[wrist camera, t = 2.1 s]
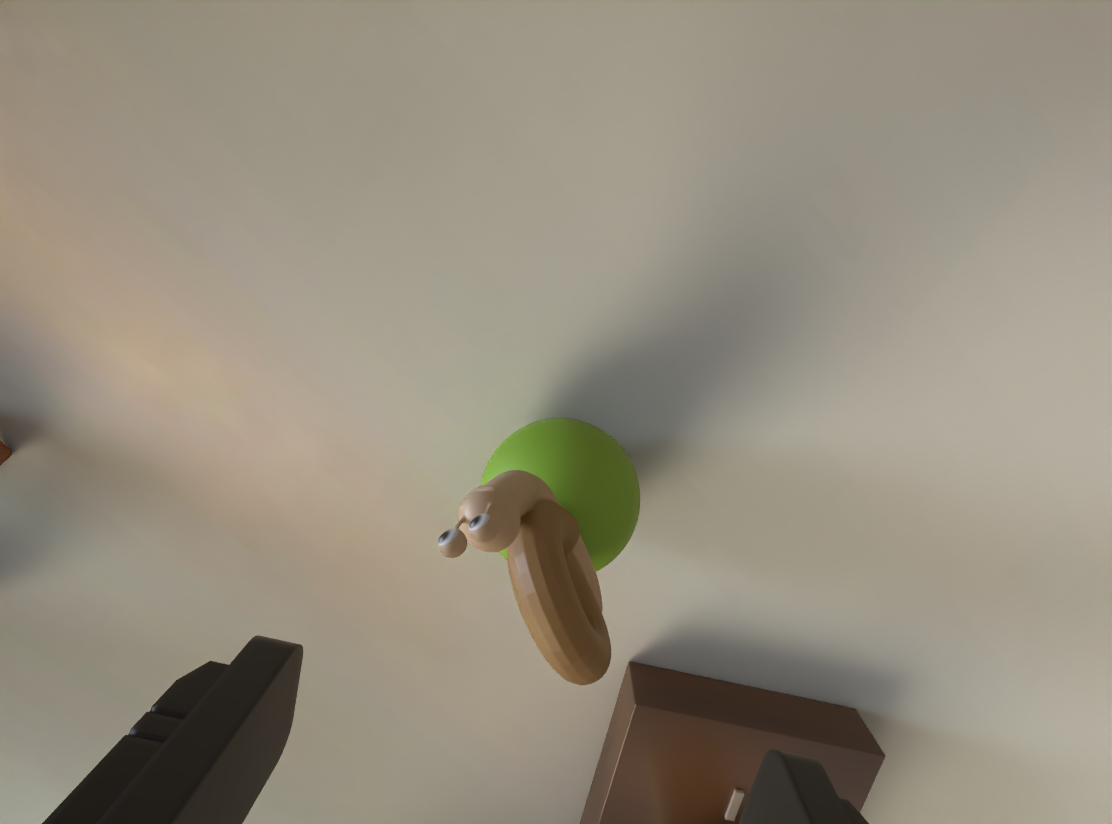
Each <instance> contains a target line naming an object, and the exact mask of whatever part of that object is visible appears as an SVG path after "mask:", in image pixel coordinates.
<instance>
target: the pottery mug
mask: <svg viewBox="0 0 1112 824" xmlns="http://www.w3.org/2000/svg"><path fill="white" fill-rule="evenodd" d="M11 455H12V451H11V449H10V448H9V447H8V446H6V445H4V444H3V443H2V442H1V441H0V465H1V464H2V463H3V462H4V461H5V460H7V459H8V458H9V457H10V456H11Z"/></svg>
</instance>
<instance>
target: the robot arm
mask: <svg viewBox="0 0 1112 824" xmlns="http://www.w3.org/2000/svg"><path fill="white" fill-rule="evenodd" d="M302 658H303V647H302V645H300V644H295V643H291V642H286V641H281V640H277V639H272V638H268V637H263V636H255V637H253V638H252V639H251V640H250V641H249V642H248V643H247V645H246V646H245V647H244V648H243V649H242V651H241V652H240V653H239V654H238V655H237V657H236V658H235V659H234V660H233V661H232V662H231V664H230V665H227V664H222V663H218V662H213V661H209V662H208V663H206V664H204V665H202V666H201V667H199V668H197V669H195V670H194V671H192V672H190V673H188V674H187V675H185V676H183V677H181V678H180V679H178V680H176V681H175V682H174V683H173V685H172V686H171V687H170V688H169V689H168V690H167V691H166V692H165V693H164V694H163V695H162V696H161V697H160V698H159V699H158V701H157V702H156V703H155V704H154V705H153V706H152V708H151V710H150V712H146V713H145V714H144V715H143V717H142V718H141V719H140V720H139V721H138V722H137V723H136V724H135V725H134V726H133V727H132V728H131V730H130V733H129V734H128V735H125V736H124V737H123V738H122V739H121V740H120V741H119V742H118V743H117V744H116V745H115V746H114V747H113V749H112V750H111V751H110V752H109V753H108V754H107V755H106V756H105V757H104V758H103V759H102V760H101V761H100V762H99V763H98V765H97V766H96V767H95V768H94V769H93V770H92V771H91V772H90V773H89V774H88V775H87V776H86V777H85V778H84V779H83V781H82V782H81V783H80V784H79V785H78V786H77V787H76V788H75V789H74V790H73V791H72V792H71V793H70V794H69V795H68V797H67V798H66V799H65V800H64V801H63V802H62V803H61V804H60V805H59V806H58V807H57V808H56V809H55V810H54V811H53V813H52V814H51V815H50V816H49V817H48V818H47V819H46V820H45V821H44V822H43V823H42V824H242V823H243V821H244V820H245V818H246V816H247V814H248V813H249V811H250V809H251V807H252V806H253V804H254V802H255V801H256V799H257V797H258V795H259V794H260V792H261V790H262V789H263V787H264V785H265V783H266V782H267V780H268V778H269V776H270V775H271V773H272V771H273V770H274V768H275V766H276V764H277V763H278V761H279V759H280V757H281V754H282V752H283V750H284V747H285V745H286V742H287V739H288V736H289V733H290V730H291V726H292V722H293V716H294V710H295V703H296V697H297V690H298V684H299V678H300V671H301V665H302ZM739 824H869V823H868V822H867V821H866V820H865V819H864V818H863V816H862V815H861V814H860V813H859V812H858V811H857V810H856V808H855V807H854V806H853V805H852V804H851V803H850V802H849V800H846V799H841V798H839V797H838V795H837V793H836V791H835V789H834V787H833V785H832V783H831V781H830V779H829V777H828V775H827V773H826V771H825V769H824V767H823V766H822V764H821V763H820V762H819V761H818V760H817V759H815V758H812V757H807V756H803V755H798V754H793V753H789V752H784V751H780V750H775V749H771V750H769V751H768V752H767V753H766V754H765V756H764V758H763V760H762V763H761V766H760V768H759V771H758V773H757V776H756V778H755V781H754V783H753V786H752V789H751V791H750V794H749V796H748V799H747V801H746V804H745V806H744V809H743V812H742V814H741V817H740V820H739Z"/></svg>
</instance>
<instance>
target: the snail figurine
mask: <svg viewBox="0 0 1112 824" xmlns="http://www.w3.org/2000/svg"><path fill="white" fill-rule="evenodd" d="M639 509H640V490H639V484H638V479H637V476H636V472H635V470H634V467H633V465H632V463H631V461H630V459H629V457H628V456H627V454H626V453H625V451H624V450H623V449H622V448H621V446H620V445H619V444H618V443H617V442H616V441H615V440H614V439H613V438H612V437H610V436H609V435H608V434H607V433H605V432H604V431H602V430H601V429H599V428H597V427H595V426H593V425H591V424H588V423H585V422H582V421H579V420H574V419H566V418H553V419H546V420H541V421H537V422H534V423H531V424H529V425H527V426H525V427H523V428H521V429H519V430H517V431H516V432H514V433H513V434H512V435H510V436H509V437H508V438H507V439H506V440H505V441H504V442H503V443H502V444H501V445H500V446H499V447H498V448H497V449H496V451H495V452H494V454H493V455H492V457H491V458H490V460H489V462H488V464H487V466H486V469H485V471H484V474H483V478H482V482H481V486H479V487H477V488H475V489H473V490H472V491H471V492H470V493H469V494H468V495H467V496H466V497H465V499H464V500H463V502H462V504H461V505H460V508H459V511H458V523H457V524H456V526H455V528H453V529H449V530H447V531H445V532H444V533H443V534H442V535H441V536H440V538H439V540H438V549H439V551H440V552H441V554H442V555H444V556H446V557H448V558H455V557H458V556H460V555H461V554H462V553H463V552H464V551H465V549H466V546H467V541H468V542H469V543H470V544H471V545H473V546H474V547H476V548H477V549H480V550H482V551H486V552H499V553H500V554H501V555H502V556H503V557H504V558H505V559H506V560H507V561H508V568H509V573H510V578H511V582H512V586H513V590H514V594H515V597H516V600H517V603H518V606H519V609H520V611H521V614H522V616H523V618H524V621H525V623H526V625H527V627H528V629H529V631H530V634H531V636H532V638H533V639H534V641H535V643H536V645H537V647H538V649H539V650H540V652H541V653H542V655H543V656H544V658H545V659H546V661H547V662H548V663H549V664H550V666H551V667H552V668H553V669H554V670H555V671H556V672H557V673H558V674H559V675H560V676H562V677H563V678H564V679H565V680H567V681H569V682H572V683H575V684H578V685H586V684H591V683H594V682H596V681H597V680H599V679H600V678H601V677H603V675H604V674H605V673H606V671H607V669H608V667H609V664H610V660H611V644H610V638H609V634H608V630H607V627H606V624H605V621H604V618H603V615H602V598H601V592H600V587H599V583H598V579H597V575H596V571H598V570H600V569H602V568H603V567H605V566H606V565H608V564H609V563H610V562H611V561H612V560H614V559H615V558H616V557H617V556H618V555H619V554H620V552H621V551H622V550H623V549H624V547H625V546H626V544H627V543H628V541H629V540H630V538H631V536H632V534H633V531H634V529H635V526H636V523H637V520H638V515H639ZM459 526H460V529H461V530H459V529H458V528H459Z"/></svg>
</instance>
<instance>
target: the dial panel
mask: <svg viewBox="0 0 1112 824" xmlns="http://www.w3.org/2000/svg"><path fill="white" fill-rule="evenodd" d="M771 749H775V750H780V751H784V752H789V753H793V754H798V755H803V756H807V757H812V758H815V759H817V760H818V761H819V762H820V763H821V764H822V766H823V767H824V769H825V771H826V773H827V775H828V777H829V779H830V781H831V783H832V785H833V787H834V789H835V791H836V793H837V795H838V797H839V798H841V799H846V800H849V802H850V803H851V804H852V805H853V806H854V807H855V808H856V810H857V811H858V812H859V813H860V811H861V809H862V807H863V804H864V802H865V800H866V798H867V796H868V793H869V791H870V789H871V787H872V784H873V782H874V780H875V778H876V775H877V773H878V771H879V769H880V767H881V764H882V762H883V760H884V758H885V754H884V753H883V751H882V750H881V748H880V746H879V745H878V743H877V742H876V740H875V739H874V737H873V735H872V734H871V732H870V731H869V729H868V728H867V726H866V724H865V723H864V721H863V720H862V718H861V717H860V715H859V713H858V712H857V710H856V709H853V708H848V707H844V706H839V705H834V704H829V703H824V702H820V701H815V700H810V699H805V698H800V697H796V696H791V695H786V694H781V693H777V692H772V691H767V690H762V689H757V688H753V687H748V686H743V685H738V684H734V683H729V682H724V681H719V680H714V679H710V678H705V677H700V676H695V675H690V674H686V673H681V672H676V671H671V670H667V669H662V668H657V667H652V666H647V665H643V664H638V663H633V662H629V663H628V666H627V669H626V672H625V676H624V679H623V682H622V686H621V689H620V692H619V695H618V699H617V702H616V705H615V709H614V712H613V715H612V719H611V722H610V725H609V729H608V732H607V735H606V739H605V742H604V745H603V749H602V752H601V755H600V759H599V762H598V765H597V769H596V772H595V775H594V779H593V782H592V785H591V789H590V792H589V795H588V799H587V802H586V805H585V809H584V812H583V815H582V818H581V822H580V824H739V820H740V817H741V814H742V812H743V809H744V806H745V804H746V801H747V799H748V796H749V794H750V791H751V789H752V786H753V783H754V781H755V778H756V776H757V773H758V771H759V768H760V766H761V763H762V760H763V758H764V756H765V754H766V753H767V752H768V751H769V750H771Z"/></svg>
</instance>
